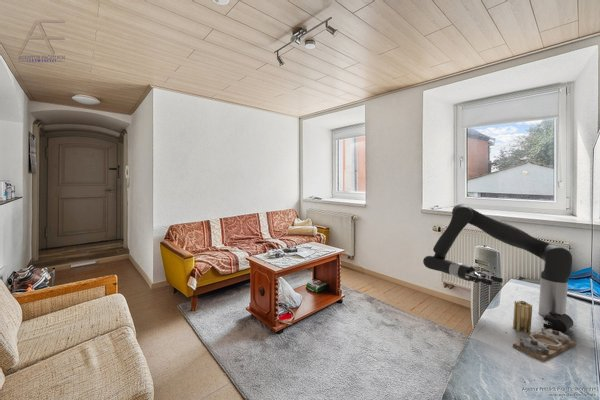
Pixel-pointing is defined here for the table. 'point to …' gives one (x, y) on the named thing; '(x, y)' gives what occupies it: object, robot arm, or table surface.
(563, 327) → the end cap
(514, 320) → the pinion
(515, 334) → the table surface
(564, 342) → the gear board
